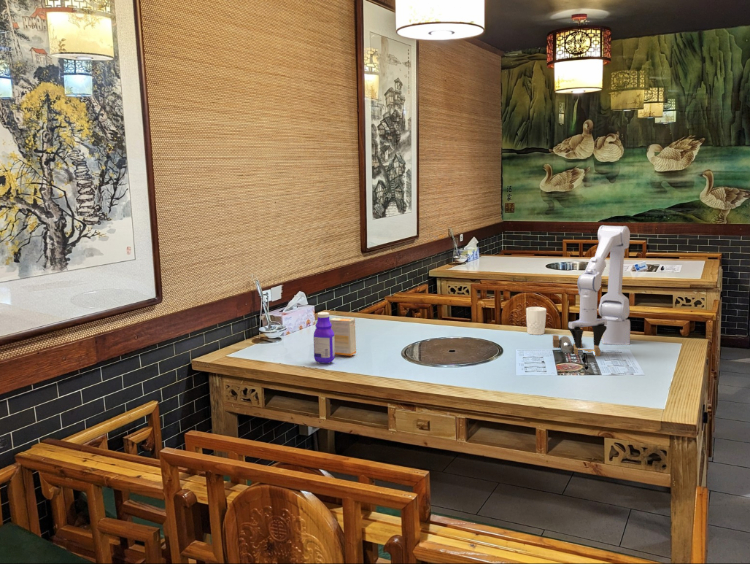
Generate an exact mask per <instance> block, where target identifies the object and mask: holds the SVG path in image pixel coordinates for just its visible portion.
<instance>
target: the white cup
mask: <svg viewBox="0 0 750 564" xmlns="http://www.w3.org/2000/svg"><path fill="white" fill-rule="evenodd" d="M525 312H526V313H525V314H526V315H525V317H526V318H525V319H526V332H527V334H528V335H534V336H541V335H544V334H545V331H546V330H545V329H546V328H545V327H546V319H547V308H546V307H543V306H542V307H541V306H529V307H526V308H525Z"/></svg>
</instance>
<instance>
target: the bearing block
mask: <svg viewBox="0 0 750 564" xmlns="http://www.w3.org/2000/svg"><path fill="white" fill-rule="evenodd" d="M559 340H560V336H559V335H558V334H557V335H555V334H554V335H552V347H553V349H559V348H560V343H559ZM580 349H583V340H582V339H581V348H580Z"/></svg>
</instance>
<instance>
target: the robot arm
mask: <svg viewBox="0 0 750 564" xmlns="http://www.w3.org/2000/svg"><path fill="white" fill-rule="evenodd" d="M630 236H631V231H630V229H629V227H628V226H627V225H623V226H622V225H604V224H603V225H600V226H599V228H598V230H597V240H598V245H597V248H596V251H595V254H594V256H593V257H591V258H590V259H589V261H588V263H587V266H586V268H585V270H584V272H583V273H581V274H580V275H579V276H578V278H577V285H576V287H577V289H578V295H579V319H577V320H574V321H568V330H569V332H570V333H571V336H572V338H573V342H574V344H575V347H576V348H578V349H582V348H581V339H582V338H583V333H584V329H582V328H584V327H585V328H586V327H591V328H592V335H593V346H594V345H596V346H599V347H600V344H601V343H602V345H615V346H616V345H617V346H619V345H622V346H624V345H626V346H630V345H631V321H630V319H628V317H629V316H630V301H629V298H628V297H627V296H625V295H624V294H623V291H622V290H623V289H622V288H623V276H624V275H623V274H624V261H625V260H624V259H625V251H626V249H628V248H629V247H630V240H631V237H630ZM609 253H610V254H609ZM608 255H609V263H608V264H609V267H608V269H609V270H608V283H607V292H606V293H605V294H604V295H603V296H601V297H600V301H599V304H598V292H599V290H600V289H601V286H602V279H603V277H602V275H603V273H604V270H605V268H606V267H607V263H606V261H605V260H606V258H607V257H608ZM598 314H599V316H600V317H601V318H598Z"/></svg>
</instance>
